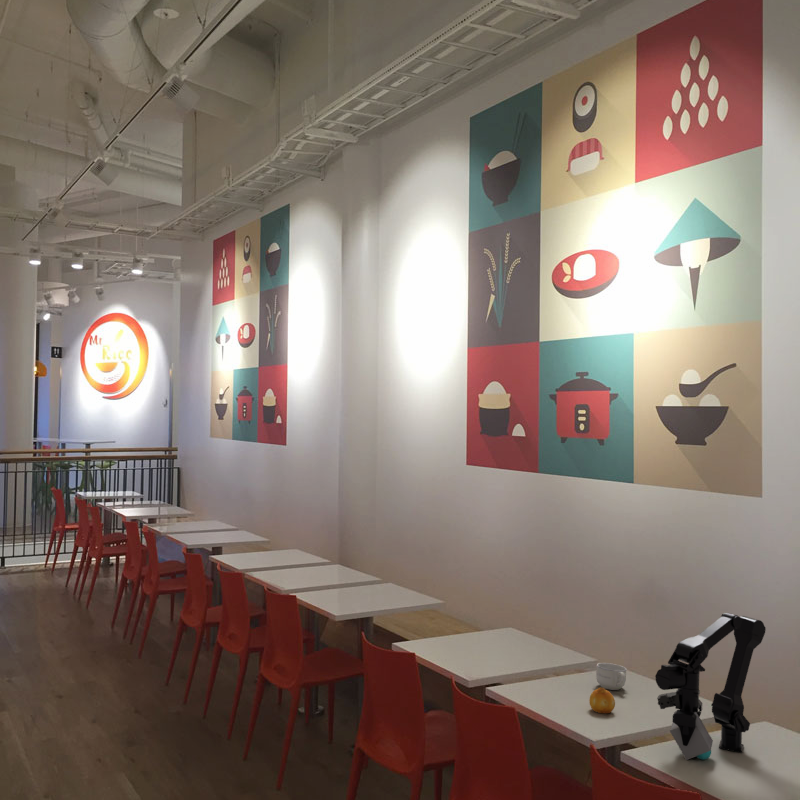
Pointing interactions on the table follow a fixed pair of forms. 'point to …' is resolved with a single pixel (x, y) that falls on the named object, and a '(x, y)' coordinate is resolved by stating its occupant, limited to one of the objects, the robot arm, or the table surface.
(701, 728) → the gray wedge-topped block
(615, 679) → the teacup
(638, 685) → the table surface
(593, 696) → the fruit
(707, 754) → the ball
